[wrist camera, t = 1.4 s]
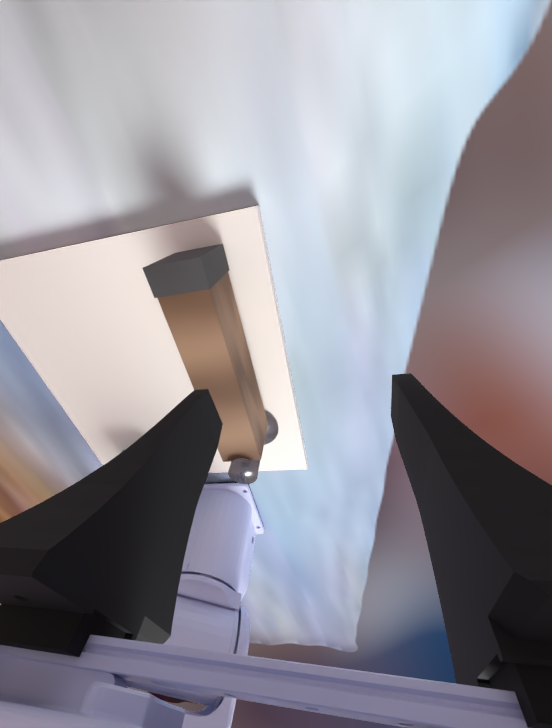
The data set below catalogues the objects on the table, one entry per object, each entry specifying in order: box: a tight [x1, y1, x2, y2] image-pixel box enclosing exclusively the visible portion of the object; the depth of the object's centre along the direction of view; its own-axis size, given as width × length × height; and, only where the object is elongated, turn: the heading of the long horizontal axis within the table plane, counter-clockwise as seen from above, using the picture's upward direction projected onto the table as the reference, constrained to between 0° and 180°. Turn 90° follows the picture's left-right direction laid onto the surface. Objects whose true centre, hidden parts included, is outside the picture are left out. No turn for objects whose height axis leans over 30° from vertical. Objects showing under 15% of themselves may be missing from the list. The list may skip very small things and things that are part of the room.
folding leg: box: [142, 244, 268, 484], centre depth 20 cm, size 16×3×5 cm, turn 11°
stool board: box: [0, 205, 307, 473], centre depth 23 cm, size 23×22×5 cm
